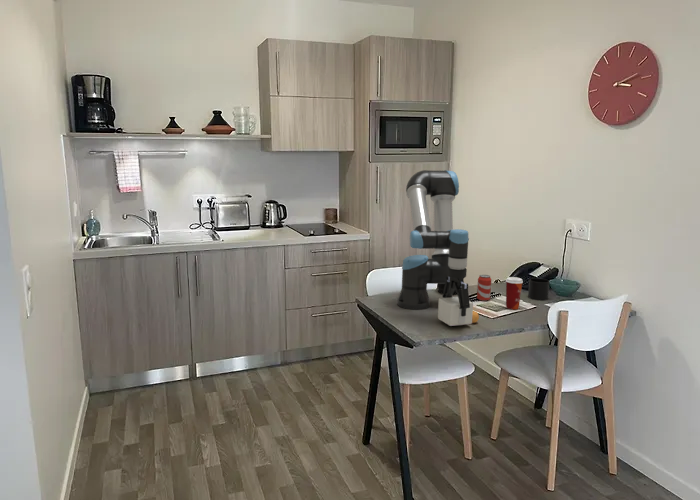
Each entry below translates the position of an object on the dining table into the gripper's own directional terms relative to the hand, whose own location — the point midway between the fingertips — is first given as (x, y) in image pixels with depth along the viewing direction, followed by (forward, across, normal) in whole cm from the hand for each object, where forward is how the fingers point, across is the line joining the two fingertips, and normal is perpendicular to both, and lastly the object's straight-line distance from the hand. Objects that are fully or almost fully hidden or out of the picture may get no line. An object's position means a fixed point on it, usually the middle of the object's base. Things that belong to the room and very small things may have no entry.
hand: (454, 319), depth 220 cm
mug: (+3, +23, -63) cm, 68 cm away
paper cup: (+3, +13, -39) cm, 41 cm away
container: (+3, +46, -25) cm, 53 cm away
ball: (0, 0, -9) cm, 9 cm away
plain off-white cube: (+1, 0, 0) cm, 1 cm away
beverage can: (+3, +28, -34) cm, 44 cm away
